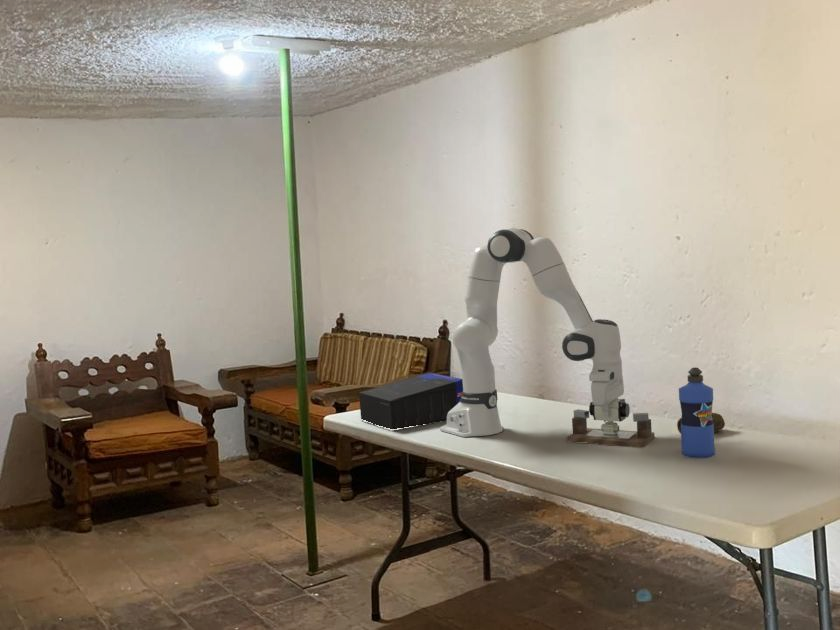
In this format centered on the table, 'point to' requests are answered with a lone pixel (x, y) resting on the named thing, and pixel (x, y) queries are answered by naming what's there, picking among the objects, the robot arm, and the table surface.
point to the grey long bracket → (620, 435)
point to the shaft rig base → (638, 440)
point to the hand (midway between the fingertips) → (609, 414)
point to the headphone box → (411, 401)
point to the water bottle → (696, 417)
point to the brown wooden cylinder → (717, 422)
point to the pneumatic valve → (611, 415)
